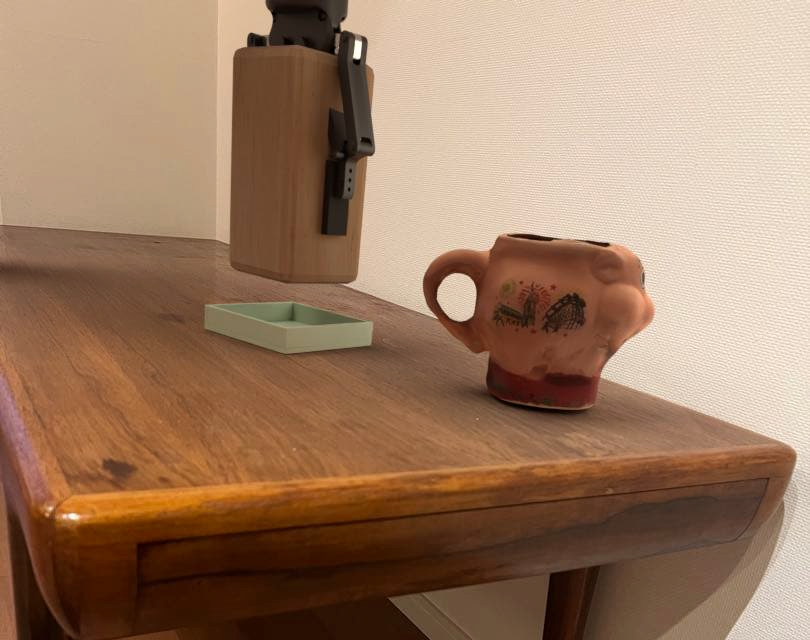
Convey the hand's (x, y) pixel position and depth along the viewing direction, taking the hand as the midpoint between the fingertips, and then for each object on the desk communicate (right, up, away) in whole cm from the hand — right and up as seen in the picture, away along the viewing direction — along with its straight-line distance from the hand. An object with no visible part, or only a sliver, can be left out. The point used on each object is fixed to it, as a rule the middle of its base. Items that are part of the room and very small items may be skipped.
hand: (295, 228), depth 79 cm
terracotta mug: (+22, -19, -9) cm, 30 cm away
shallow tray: (-1, -10, +5) cm, 11 cm away
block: (-1, -4, +2) cm, 5 cm away
